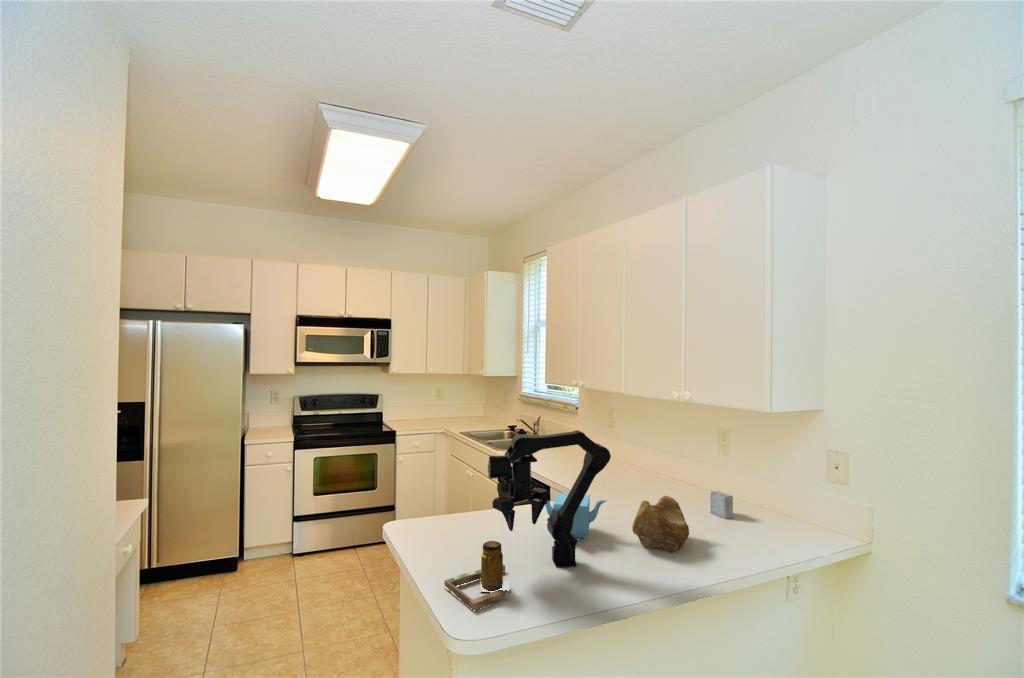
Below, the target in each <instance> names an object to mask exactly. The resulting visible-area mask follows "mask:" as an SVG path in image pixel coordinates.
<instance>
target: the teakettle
mask: <svg viewBox="0 0 1024 678" xmlns="http://www.w3.org/2000/svg"><path fill="white" fill-rule="evenodd" d="M568 494H569V492H568V493H565V492H558V493H557V494H556V495H555V499H554V502H553V506H552V504H551V502H550V500H549V501H547V504H545V508H546V512H547V515H548V516H549V517H550V515H551V512H552V510H553V509H554V510H556V511H558V510H559V509H560V508H561V507H562V506H563V504H564V502H565V500H566V498H567V496H568ZM590 499H591V497H590V494H585V496H584V498H583V500H582V502H581V504H580V506H579V508H578V510H577V511H576V513H575V515H574V520H573V527H572V530H571V533H572V535H573V536H574V537H575V538H576V540H578V539H579V540H578V541H580V540H584V539H588V537H589V529H590V525H591V524H590V523H593V522H594V521H595V520H596V518H597V516H598V514H599V510H600V508H601V506H602V505H603V504H604V503H606V502H608V500H606V499H600V500H597V501H596V502H595V504H594V507H593V509H592V510H591V509H590V508H591V507H590V505H591V504H590V502H591V501H590ZM590 510H591V511H590ZM584 541H585V540H584Z"/></svg>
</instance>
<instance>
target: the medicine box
mask: <svg viewBox="0 0 1024 678" xmlns="http://www.w3.org/2000/svg"><path fill="white" fill-rule="evenodd" d="M709 499H710V501H709V503H710V507H709V508H710V513H711V514H712V515H715V516H718V517H720V518H723V519H725V520H727V519H732V518H733V517H734V498H733V495H731V494H728V493H726V492H722V491H720V490H714V491H710V495H709Z"/></svg>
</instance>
